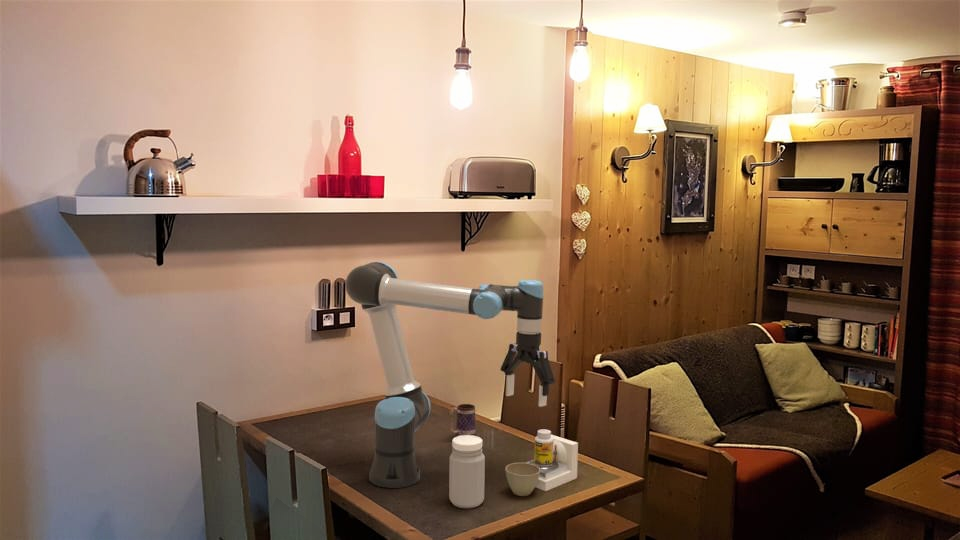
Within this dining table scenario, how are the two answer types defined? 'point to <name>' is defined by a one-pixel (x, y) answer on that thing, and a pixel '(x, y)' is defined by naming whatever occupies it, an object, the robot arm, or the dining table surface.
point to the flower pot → (522, 477)
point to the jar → (467, 472)
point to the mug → (464, 420)
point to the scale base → (566, 455)
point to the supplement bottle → (543, 448)
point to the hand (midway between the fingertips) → (525, 400)
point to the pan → (550, 469)
